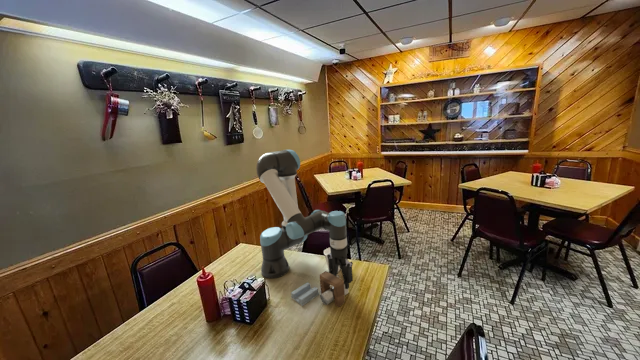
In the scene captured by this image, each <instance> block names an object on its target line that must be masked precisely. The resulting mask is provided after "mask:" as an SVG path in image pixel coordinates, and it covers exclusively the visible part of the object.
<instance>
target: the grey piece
mask: <svg viewBox="0 0 640 360" xmlns="http://www.w3.org/2000/svg"><path fill="white" fill-rule="evenodd" d="M319 296H320V297H319V298H320V300H321V302H322V304H323V305H324V306H328V305H329V304H331V303H332V302H333V301H335V297H334V287H333V286H332V285H331V286H330V288H329V289H328V290H326V291H325V292H324V293H322V294H321V293H320V294H319Z"/></svg>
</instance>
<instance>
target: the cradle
mask: <svg viewBox="0 0 640 360" xmlns="http://www.w3.org/2000/svg"><path fill="white" fill-rule="evenodd" d="M318 296H320V292H319V288H318V287H316V286H314V287H311V283H309V282H306V283H304V284H303V285H301V286H299V287H297V288H296V289H295V290H293V291H291V292H290V298H291V299H292V300H293V301H294V302H296V303H298V304H299V305H300V306H302V307H303V306H304V305H306V304H308V303H309V302H310V301H312V300H314V299H315V298H316V297H318Z"/></svg>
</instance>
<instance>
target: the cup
mask: <svg viewBox="0 0 640 360" xmlns="http://www.w3.org/2000/svg"><path fill="white" fill-rule="evenodd" d="M330 253H331V250H330V247H328V248H327V247H326V249H324V250H323V255H324V257H325V261H326V265H327V268H328V271H329V263H328V257H327V255H328V254H330ZM340 271H341V269H340V267H338V272H337V273H339V272H340Z"/></svg>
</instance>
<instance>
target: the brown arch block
mask: <svg viewBox="0 0 640 360" xmlns="http://www.w3.org/2000/svg"><path fill="white" fill-rule="evenodd" d="M319 283H320V284H319V287H320V295H321V294H322V293H324V292H325V291H326V290H328V289H329V288H331V287H332V286H333V287H334V297H335V300H334V305H335V306H336V307H338V308H340V307H341V306H343V305H344V304H345V303H346V299H345V296H346V295H344V279H343V278H340V277H339V278H338V277H336V276H334V275H333V274H331V273H329V271H327V270H325V271H324V272H322V273H320V274H319Z"/></svg>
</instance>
